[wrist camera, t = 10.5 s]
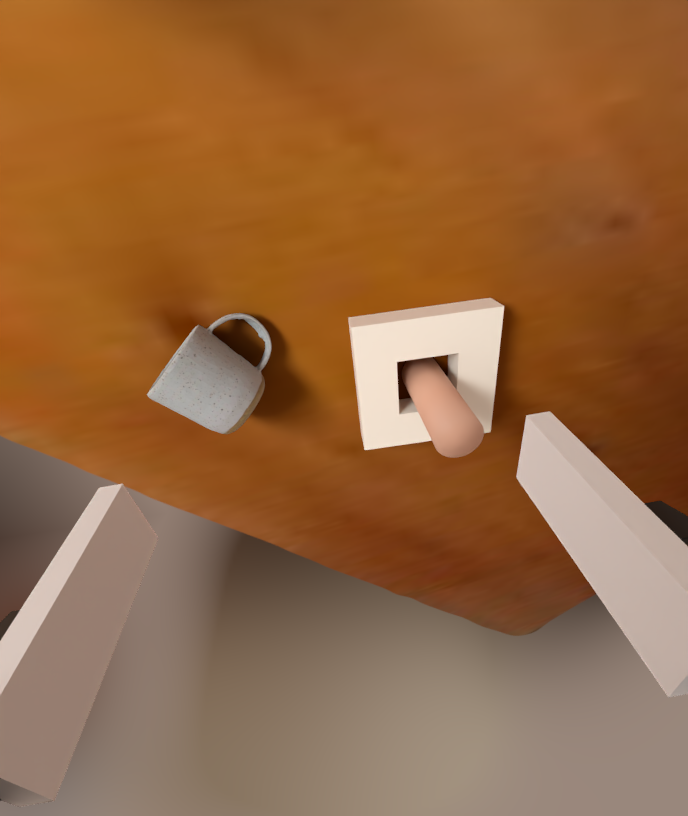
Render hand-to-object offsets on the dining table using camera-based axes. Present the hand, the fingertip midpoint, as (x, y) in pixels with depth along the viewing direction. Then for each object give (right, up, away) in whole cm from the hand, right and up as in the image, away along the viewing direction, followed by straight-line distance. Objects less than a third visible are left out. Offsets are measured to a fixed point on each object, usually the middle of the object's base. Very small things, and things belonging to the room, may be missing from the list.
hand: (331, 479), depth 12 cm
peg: (+9, +6, +27) cm, 29 cm away
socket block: (+9, +6, +27) cm, 29 cm away
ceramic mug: (-12, +8, +25) cm, 28 cm away
